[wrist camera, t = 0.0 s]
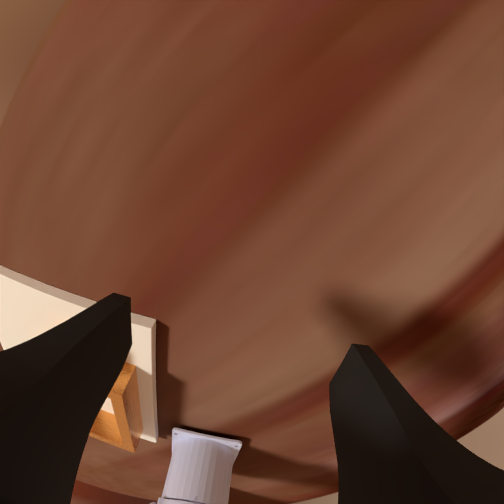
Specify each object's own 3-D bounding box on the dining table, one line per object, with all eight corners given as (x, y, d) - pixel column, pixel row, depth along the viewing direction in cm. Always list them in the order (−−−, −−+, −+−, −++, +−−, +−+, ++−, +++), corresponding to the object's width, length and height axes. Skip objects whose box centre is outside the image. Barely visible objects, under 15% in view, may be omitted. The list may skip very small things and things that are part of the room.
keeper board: (158, 435, 30) (144, 480, 24) (23, 378, 30) (0, 410, 23) (156, 319, 22) (123, 385, 16) (-18, 257, 21) (-59, 289, 15)
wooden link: (143, 428, 28) (134, 452, 25) (70, 401, 28) (59, 421, 24) (134, 341, 22) (117, 372, 19) (41, 307, 21) (19, 330, 18)
